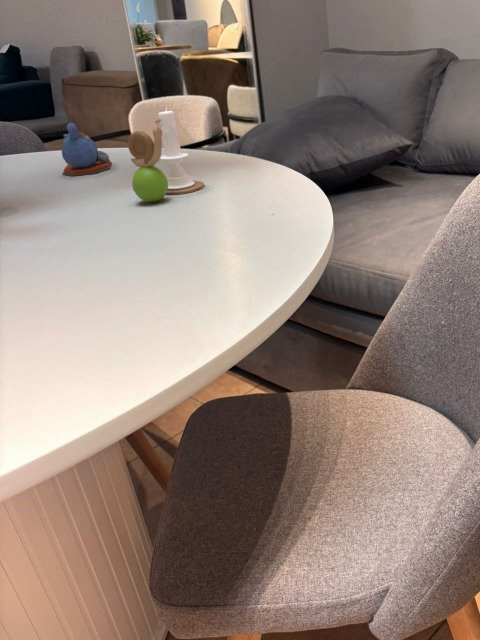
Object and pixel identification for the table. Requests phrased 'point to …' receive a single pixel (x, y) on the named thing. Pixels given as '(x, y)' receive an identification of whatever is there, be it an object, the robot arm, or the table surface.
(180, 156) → the candle
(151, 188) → the snail figurine
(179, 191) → the coaster
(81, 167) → the model
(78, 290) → the table surface
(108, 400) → the table surface
